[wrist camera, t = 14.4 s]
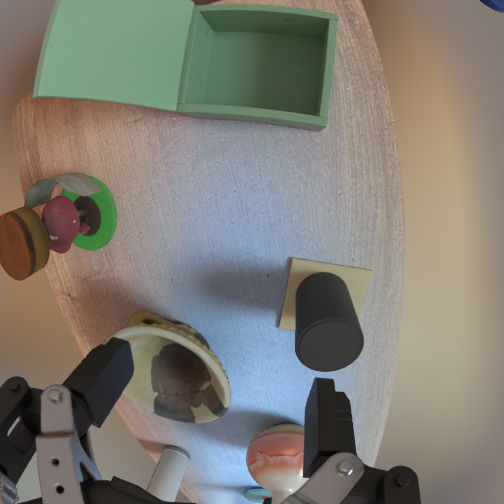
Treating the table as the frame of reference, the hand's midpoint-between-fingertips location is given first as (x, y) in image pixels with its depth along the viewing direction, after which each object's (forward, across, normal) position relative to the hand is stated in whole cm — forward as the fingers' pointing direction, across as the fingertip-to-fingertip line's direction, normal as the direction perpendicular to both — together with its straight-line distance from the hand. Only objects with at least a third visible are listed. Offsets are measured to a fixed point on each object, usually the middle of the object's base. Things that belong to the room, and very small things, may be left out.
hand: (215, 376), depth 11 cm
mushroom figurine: (+24, +25, +1) cm, 34 cm away
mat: (+24, -8, +8) cm, 26 cm away
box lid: (+9, +10, -17) cm, 22 cm away
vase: (+24, -8, +38) cm, 45 cm away
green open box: (+24, +2, -17) cm, 29 cm away
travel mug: (+24, +14, +55) cm, 61 cm away
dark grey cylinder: (+23, -8, +8) cm, 26 cm away
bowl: (+24, +10, +19) cm, 32 cm away
